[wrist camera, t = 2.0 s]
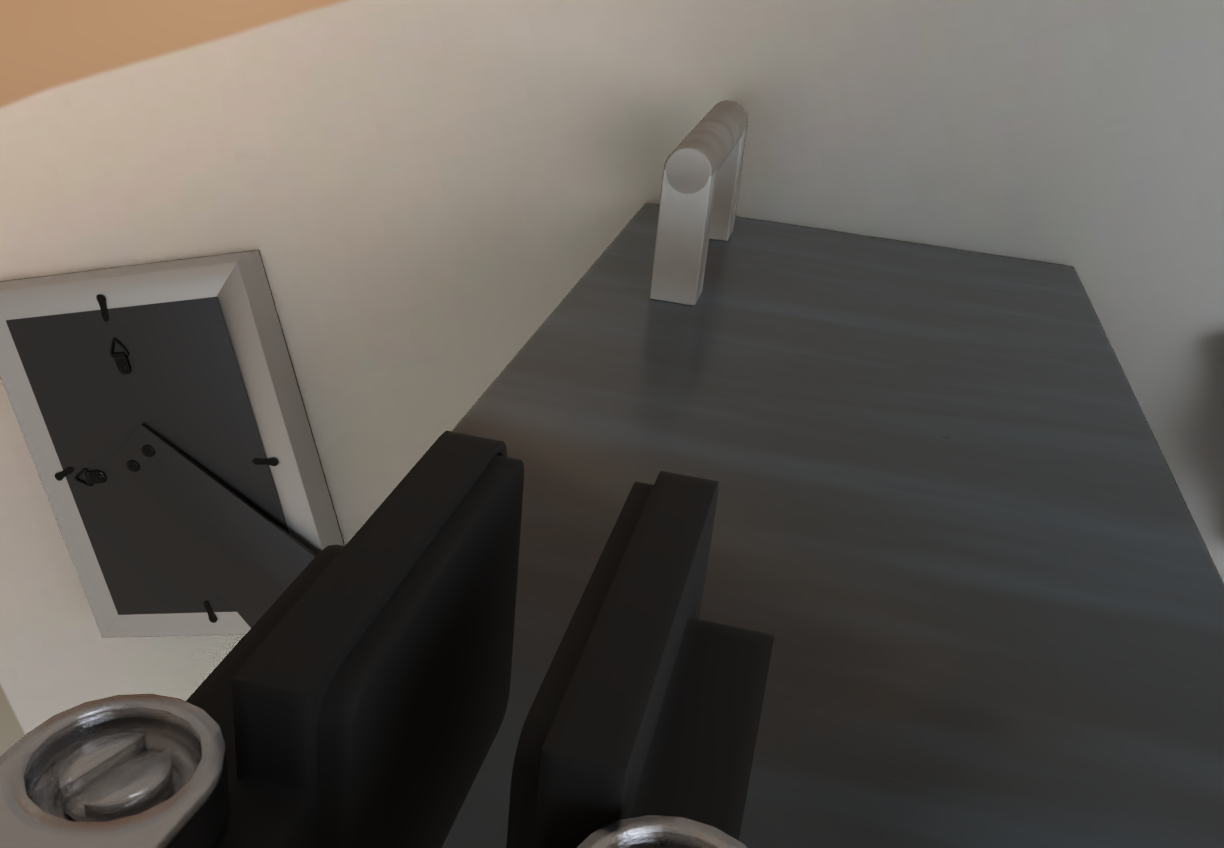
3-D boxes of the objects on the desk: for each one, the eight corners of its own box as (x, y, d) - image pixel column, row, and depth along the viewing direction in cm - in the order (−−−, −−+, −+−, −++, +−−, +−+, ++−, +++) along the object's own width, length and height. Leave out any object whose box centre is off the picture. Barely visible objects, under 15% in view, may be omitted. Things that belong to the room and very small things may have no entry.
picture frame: (363, 611, 64) (258, 249, 57) (341, 640, 62) (229, 265, 54) (123, 617, 69) (-4, 281, 61) (94, 645, 66) (-43, 298, 59)
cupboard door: (657, 79, 49) (115, 474, 15) (1109, 138, 46) (1684, 793, 12) (642, 224, 52) (153, 833, 18) (1068, 289, 49) (1446, 1167, 15)
